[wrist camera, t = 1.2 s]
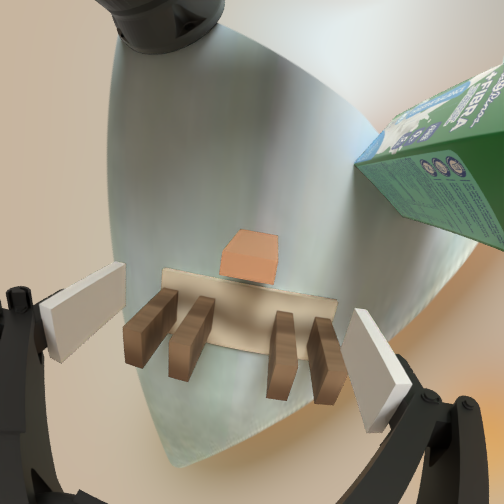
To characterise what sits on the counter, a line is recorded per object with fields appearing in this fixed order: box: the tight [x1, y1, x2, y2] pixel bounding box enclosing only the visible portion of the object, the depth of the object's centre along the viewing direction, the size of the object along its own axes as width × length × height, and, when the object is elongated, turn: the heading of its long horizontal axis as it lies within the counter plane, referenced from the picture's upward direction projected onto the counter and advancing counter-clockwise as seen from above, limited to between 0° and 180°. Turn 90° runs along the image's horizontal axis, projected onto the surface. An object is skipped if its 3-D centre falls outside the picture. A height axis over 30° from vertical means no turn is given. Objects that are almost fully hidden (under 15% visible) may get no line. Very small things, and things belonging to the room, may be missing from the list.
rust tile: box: [219, 229, 278, 285], centre depth 27 cm, size 4×2×11 cm, turn 81°
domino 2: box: [169, 295, 215, 382], centre depth 29 cm, size 4×2×11 cm, turn 171°
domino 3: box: [266, 310, 298, 401], centre depth 29 cm, size 4×2×11 cm, turn 171°
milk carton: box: [354, 63, 504, 252], centre depth 17 cm, size 9×9×25 cm
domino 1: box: [123, 287, 179, 369], centre depth 29 cm, size 4×2×11 cm, turn 171°
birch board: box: [161, 267, 338, 361], centre depth 35 cm, size 9×22×1 cm, turn 81°
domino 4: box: [306, 317, 348, 405], centre depth 28 cm, size 4×2×11 cm, turn 171°
